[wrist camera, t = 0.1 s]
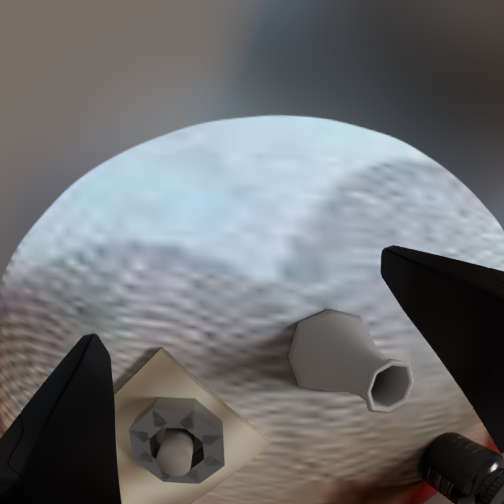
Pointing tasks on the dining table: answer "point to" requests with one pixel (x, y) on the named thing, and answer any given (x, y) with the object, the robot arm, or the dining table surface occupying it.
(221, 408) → the base board
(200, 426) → the steel ring
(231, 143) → the dining table surface
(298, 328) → the flask
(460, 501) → the supplement bottle
